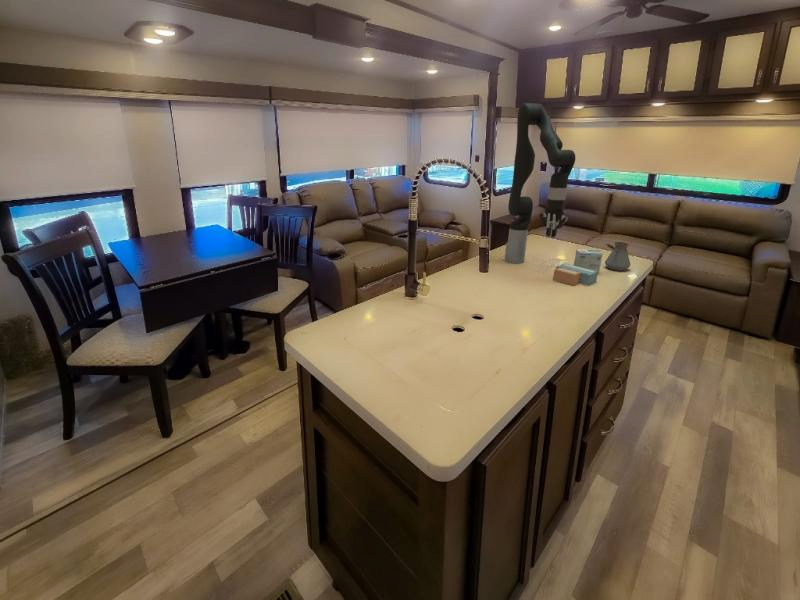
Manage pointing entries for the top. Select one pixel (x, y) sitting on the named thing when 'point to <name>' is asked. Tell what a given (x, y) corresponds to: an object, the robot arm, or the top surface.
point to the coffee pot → (618, 257)
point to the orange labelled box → (566, 276)
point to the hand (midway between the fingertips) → (550, 236)
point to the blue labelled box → (582, 273)
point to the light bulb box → (588, 259)
